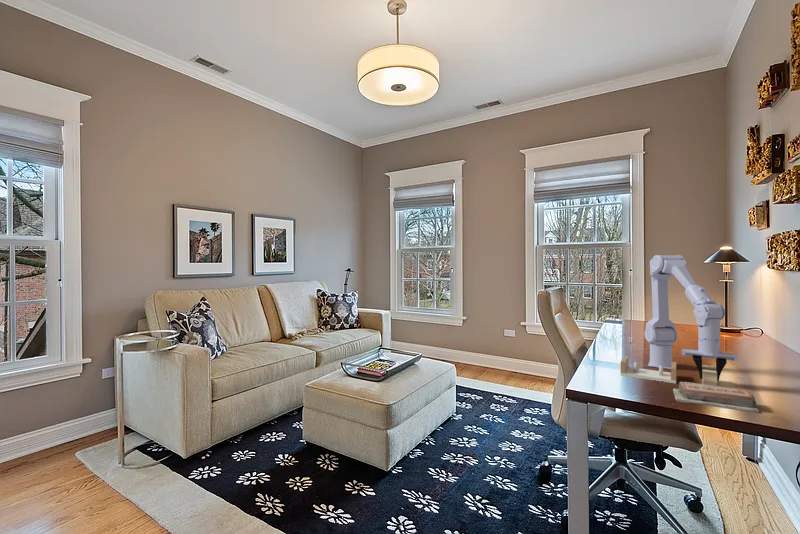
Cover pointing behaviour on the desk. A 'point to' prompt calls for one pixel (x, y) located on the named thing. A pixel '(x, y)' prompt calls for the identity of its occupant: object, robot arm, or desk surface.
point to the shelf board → (709, 375)
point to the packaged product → (716, 396)
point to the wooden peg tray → (648, 372)
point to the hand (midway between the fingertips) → (709, 379)
